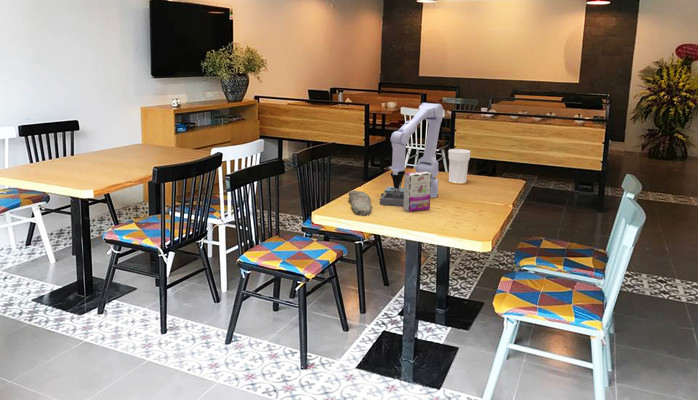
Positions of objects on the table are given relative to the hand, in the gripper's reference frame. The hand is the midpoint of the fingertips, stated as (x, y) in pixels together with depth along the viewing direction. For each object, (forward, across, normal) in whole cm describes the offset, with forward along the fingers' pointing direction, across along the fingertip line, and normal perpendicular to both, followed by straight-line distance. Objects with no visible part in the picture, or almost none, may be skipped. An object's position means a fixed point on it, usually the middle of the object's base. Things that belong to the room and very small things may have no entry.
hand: (397, 187), depth 271 cm
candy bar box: (+7, +10, +10) cm, 16 cm away
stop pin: (+4, 0, 0) cm, 4 cm away
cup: (+7, -56, +22) cm, 60 cm away
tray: (+7, 0, 0) cm, 7 cm away
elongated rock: (+8, +11, -14) cm, 20 cm away
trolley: (+7, -12, -2) cm, 14 cm away
